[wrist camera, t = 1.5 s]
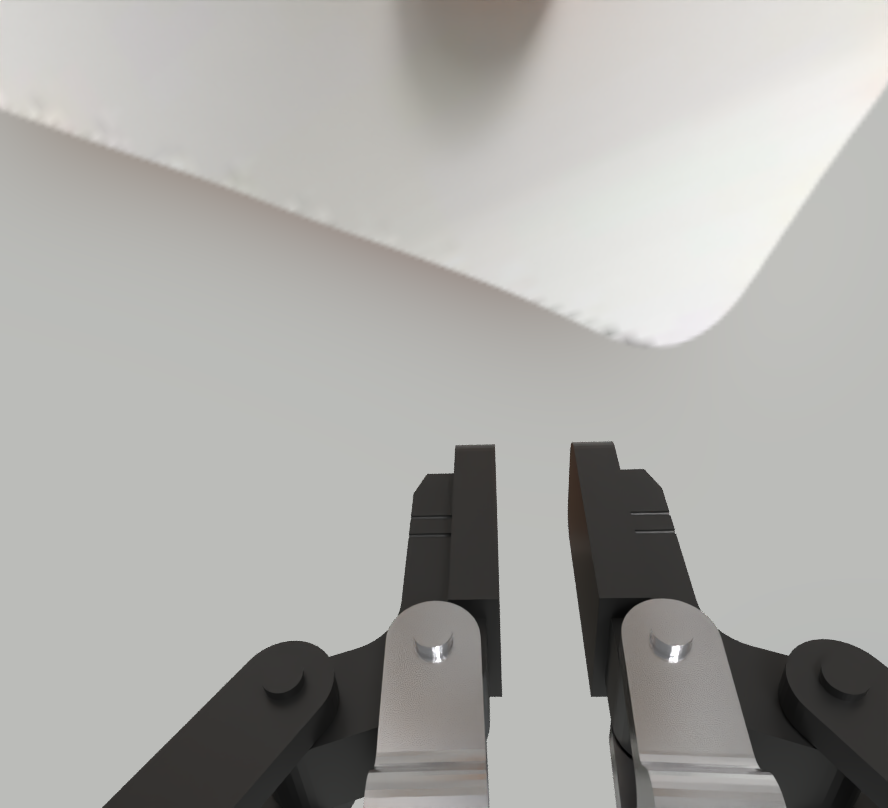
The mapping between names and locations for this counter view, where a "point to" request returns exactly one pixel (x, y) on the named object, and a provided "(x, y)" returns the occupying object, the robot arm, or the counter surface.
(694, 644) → the robot arm
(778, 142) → the counter surface
